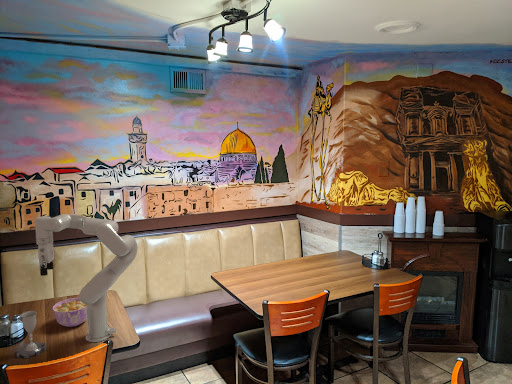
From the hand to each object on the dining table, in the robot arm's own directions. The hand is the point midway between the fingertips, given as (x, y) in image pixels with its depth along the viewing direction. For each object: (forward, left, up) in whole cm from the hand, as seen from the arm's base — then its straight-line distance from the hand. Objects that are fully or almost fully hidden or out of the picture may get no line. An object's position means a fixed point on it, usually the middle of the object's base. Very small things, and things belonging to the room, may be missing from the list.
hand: (47, 272), depth 197 cm
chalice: (+6, +12, -35) cm, 37 cm away
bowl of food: (-7, -15, -36) cm, 40 cm away
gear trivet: (+6, +12, -36) cm, 39 cm away
